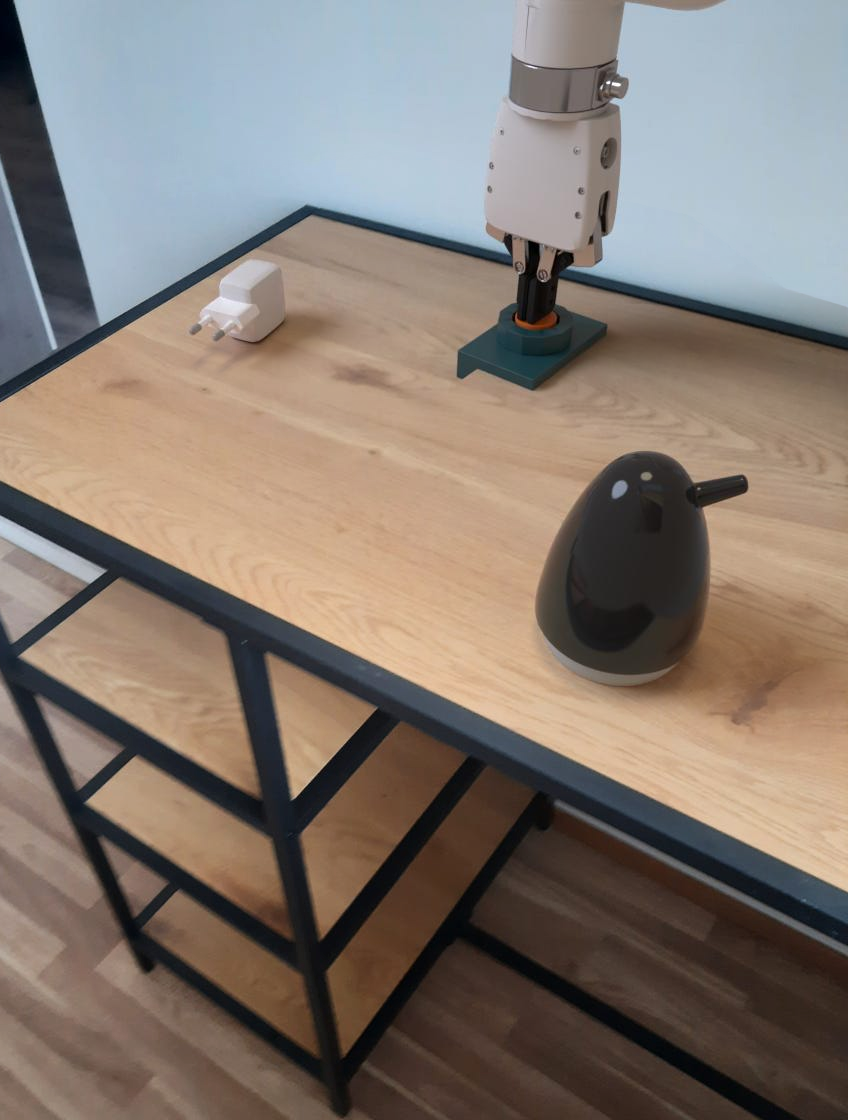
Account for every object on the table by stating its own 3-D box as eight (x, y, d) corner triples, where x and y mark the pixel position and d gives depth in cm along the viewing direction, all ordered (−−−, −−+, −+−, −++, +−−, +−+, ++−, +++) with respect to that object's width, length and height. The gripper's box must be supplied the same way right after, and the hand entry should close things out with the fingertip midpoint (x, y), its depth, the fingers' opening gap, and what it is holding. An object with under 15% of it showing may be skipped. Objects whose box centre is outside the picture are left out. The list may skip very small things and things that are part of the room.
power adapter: (229, 375, 86) (220, 315, 81) (186, 363, 87) (175, 304, 83) (293, 320, 92) (288, 262, 88) (252, 310, 94) (245, 253, 90)
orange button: (528, 320, 85) (530, 302, 84) (562, 332, 83) (564, 314, 82) (505, 336, 83) (507, 317, 82) (539, 349, 82) (542, 330, 80)
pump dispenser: (701, 719, 57) (772, 527, 46) (529, 707, 58) (558, 516, 47) (682, 602, 64) (740, 410, 53) (528, 593, 65) (553, 403, 54)
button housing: (531, 324, 90) (536, 279, 87) (603, 351, 87) (611, 305, 83) (456, 377, 84) (458, 331, 81) (530, 408, 81) (535, 361, 77)
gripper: (677, 88, 67) (631, 326, 81) (506, 52, 74) (489, 276, 87) (624, 117, 63) (584, 361, 77) (448, 76, 70) (440, 307, 84)
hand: (534, 315), depth 82 cm, fingers closed
